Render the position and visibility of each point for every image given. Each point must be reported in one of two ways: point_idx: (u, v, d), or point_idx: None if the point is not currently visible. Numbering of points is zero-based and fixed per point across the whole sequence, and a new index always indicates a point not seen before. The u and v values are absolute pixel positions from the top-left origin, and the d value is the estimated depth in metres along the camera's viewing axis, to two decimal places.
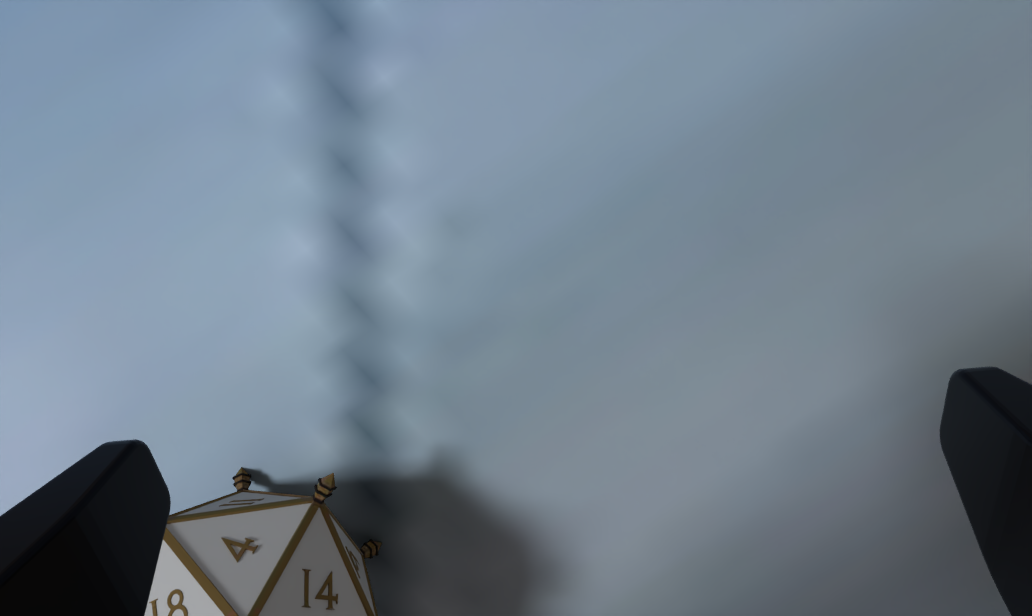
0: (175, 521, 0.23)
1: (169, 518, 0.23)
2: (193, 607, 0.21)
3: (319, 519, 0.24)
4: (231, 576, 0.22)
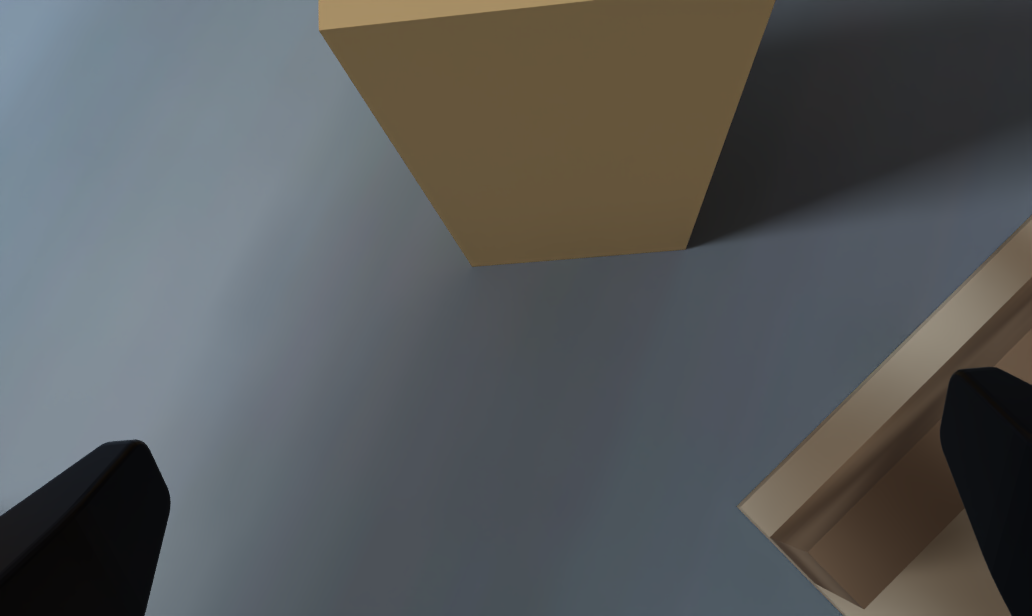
0: None
1: None
2: None
3: None
4: None
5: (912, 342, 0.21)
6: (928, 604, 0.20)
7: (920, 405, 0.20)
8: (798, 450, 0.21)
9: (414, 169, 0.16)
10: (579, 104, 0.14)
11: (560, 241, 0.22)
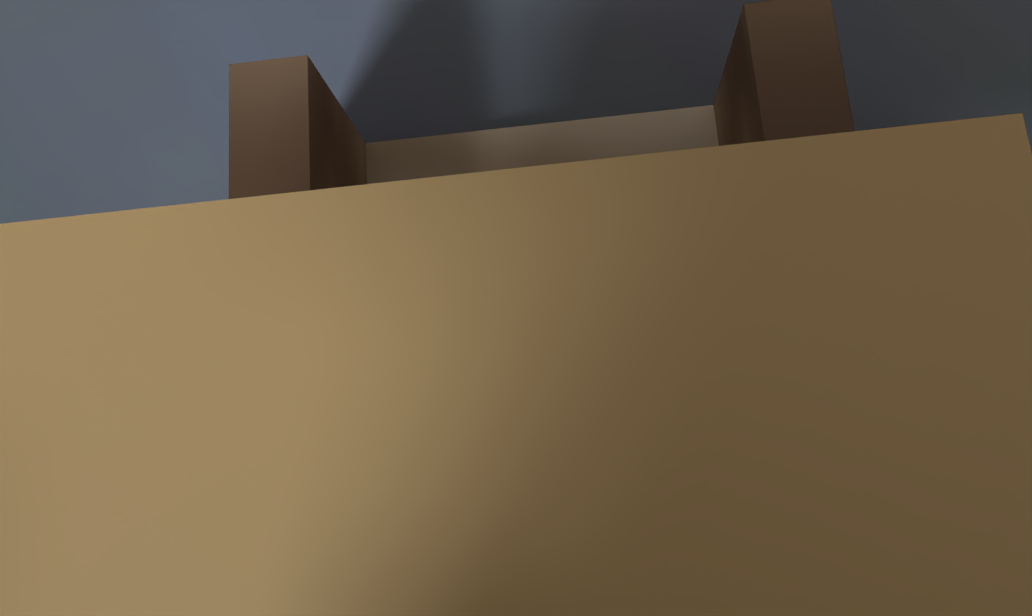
0: None
1: None
2: None
3: None
4: None
5: None
6: None
7: None
8: None
9: None
10: None
11: None
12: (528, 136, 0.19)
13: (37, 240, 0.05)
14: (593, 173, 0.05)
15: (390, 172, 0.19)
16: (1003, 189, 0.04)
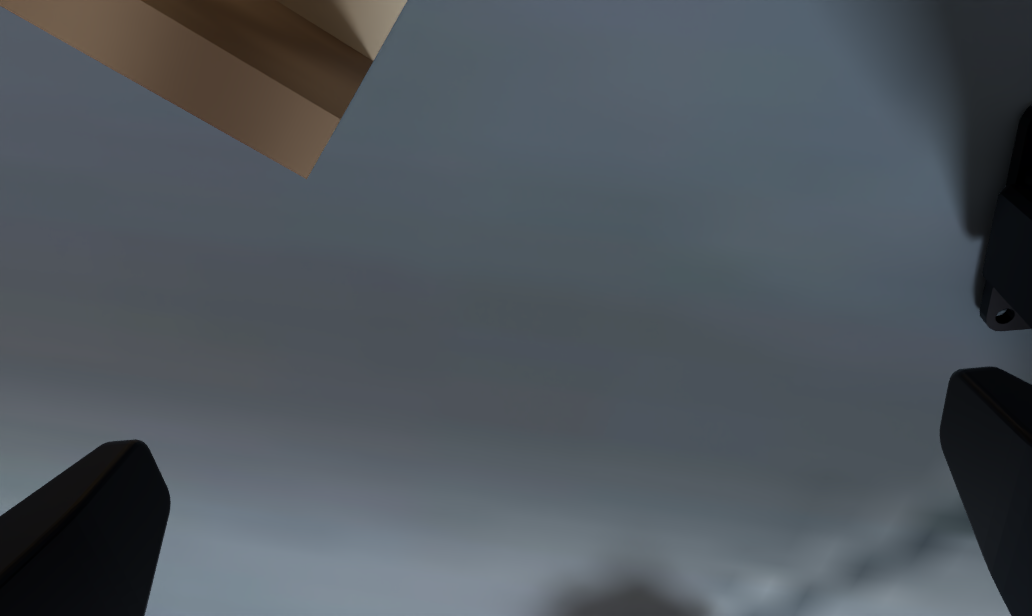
0: None
1: None
2: None
3: None
4: None
5: None
6: None
7: None
8: None
9: None
10: None
11: None
12: None
13: None
14: None
15: None
16: None
